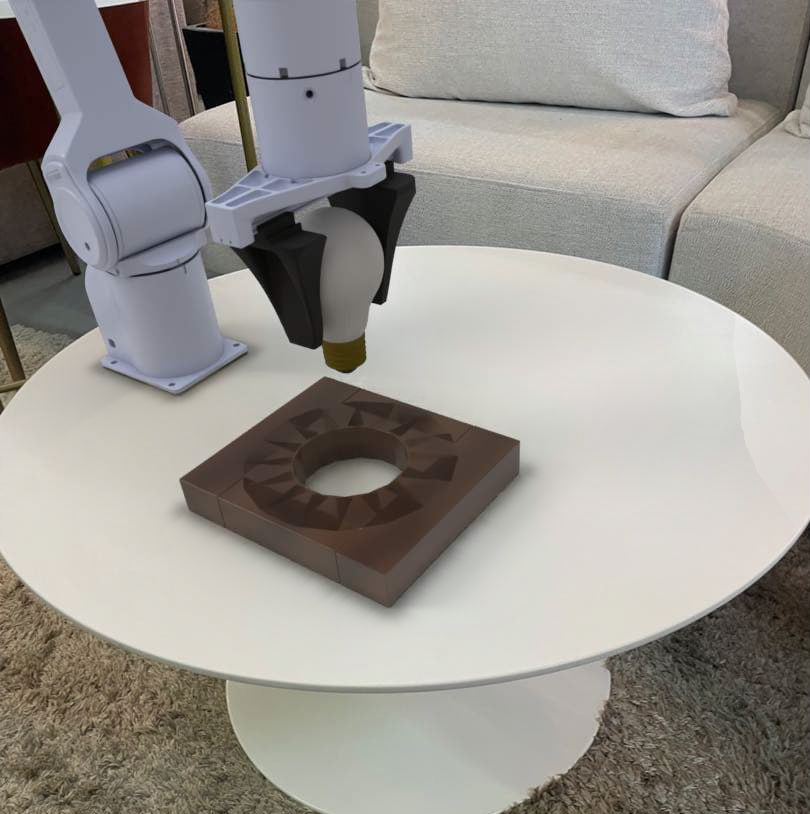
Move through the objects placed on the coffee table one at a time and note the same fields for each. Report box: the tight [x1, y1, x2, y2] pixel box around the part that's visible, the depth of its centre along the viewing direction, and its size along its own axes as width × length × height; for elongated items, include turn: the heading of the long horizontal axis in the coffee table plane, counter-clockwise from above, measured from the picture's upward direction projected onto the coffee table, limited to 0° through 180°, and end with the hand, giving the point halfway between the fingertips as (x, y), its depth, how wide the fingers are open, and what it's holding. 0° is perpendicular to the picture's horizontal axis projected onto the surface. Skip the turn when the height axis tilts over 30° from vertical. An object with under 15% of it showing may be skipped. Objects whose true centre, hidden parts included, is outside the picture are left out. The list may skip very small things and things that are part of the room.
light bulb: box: [295, 206, 384, 375], centre depth 48 cm, size 6×6×10 cm
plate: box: [178, 375, 521, 608], centre depth 51 cm, size 16×14×2 cm
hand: (339, 321), depth 49 cm, fingers closed on light bulb, 6 cm apart
